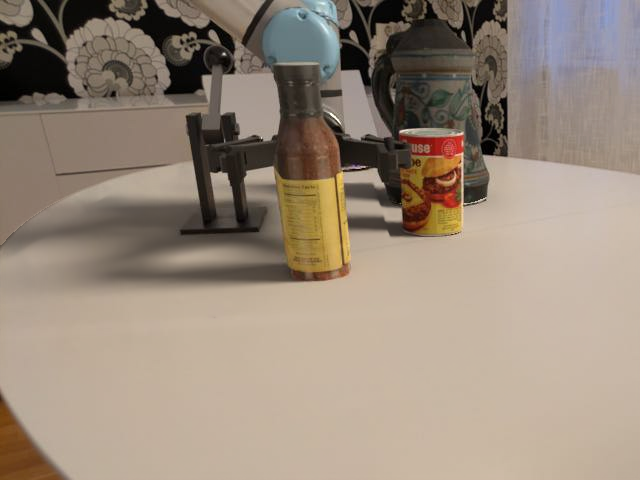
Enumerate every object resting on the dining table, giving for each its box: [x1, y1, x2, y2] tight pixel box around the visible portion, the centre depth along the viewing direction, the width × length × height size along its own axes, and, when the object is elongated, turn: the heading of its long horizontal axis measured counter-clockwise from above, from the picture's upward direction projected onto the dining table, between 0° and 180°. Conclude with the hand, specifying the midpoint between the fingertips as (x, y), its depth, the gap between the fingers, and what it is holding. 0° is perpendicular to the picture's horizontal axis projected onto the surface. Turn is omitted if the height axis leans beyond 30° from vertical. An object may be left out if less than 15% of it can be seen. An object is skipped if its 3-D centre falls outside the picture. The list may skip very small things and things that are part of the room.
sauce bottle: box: [272, 62, 352, 282], centre depth 63 cm, size 6×6×20 cm
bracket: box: [179, 111, 268, 236], centre depth 84 cm, size 12×9×14 cm
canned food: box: [399, 128, 465, 237], centre depth 84 cm, size 8×8×12 cm
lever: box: [201, 44, 234, 146], centre depth 85 cm, size 17×4×4 cm
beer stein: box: [370, 18, 491, 204], centre depth 101 cm, size 16×19×25 cm
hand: (310, 169), depth 61 cm, fingers open, 13 cm apart
